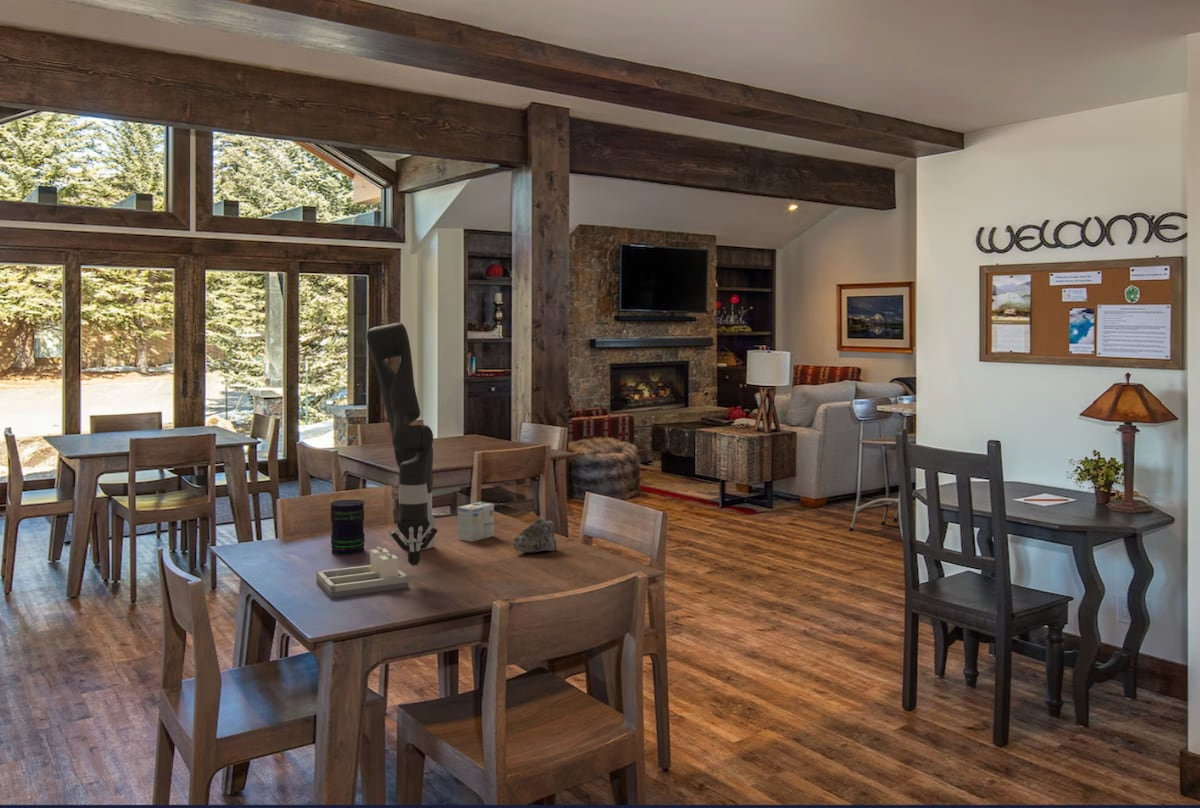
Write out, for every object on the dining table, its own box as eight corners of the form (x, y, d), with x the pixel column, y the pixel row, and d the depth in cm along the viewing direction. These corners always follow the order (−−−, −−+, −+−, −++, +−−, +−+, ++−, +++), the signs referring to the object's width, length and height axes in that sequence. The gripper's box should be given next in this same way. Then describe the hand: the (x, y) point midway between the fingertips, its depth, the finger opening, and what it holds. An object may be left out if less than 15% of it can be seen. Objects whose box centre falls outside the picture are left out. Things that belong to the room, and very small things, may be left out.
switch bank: (390, 573, 256) (390, 562, 256) (408, 587, 242) (408, 576, 242) (316, 582, 246) (316, 571, 246) (330, 598, 233) (330, 586, 232)
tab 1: (384, 569, 253) (384, 545, 253) (389, 573, 250) (388, 548, 249) (370, 571, 251) (370, 547, 251) (374, 575, 248) (374, 550, 247)
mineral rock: (513, 555, 277) (513, 522, 276) (514, 547, 288) (514, 515, 287) (556, 555, 278) (556, 522, 277) (556, 547, 288) (556, 515, 287)
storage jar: (324, 553, 278) (323, 504, 277) (344, 546, 287) (343, 498, 286) (351, 556, 274) (350, 506, 273) (371, 549, 283) (370, 501, 282)
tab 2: (394, 576, 246) (393, 551, 246) (398, 580, 243) (398, 554, 242) (379, 578, 244) (378, 553, 244) (383, 582, 241) (383, 556, 240)
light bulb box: (479, 533, 306) (479, 501, 305) (495, 536, 302) (494, 503, 301) (456, 539, 298) (456, 506, 297) (472, 542, 294) (472, 508, 293)
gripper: (432, 496, 252) (433, 558, 253) (384, 500, 245) (385, 564, 247) (441, 500, 245) (442, 565, 247) (392, 504, 239) (393, 570, 240)
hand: (413, 564), depth 247 cm, fingers closed
